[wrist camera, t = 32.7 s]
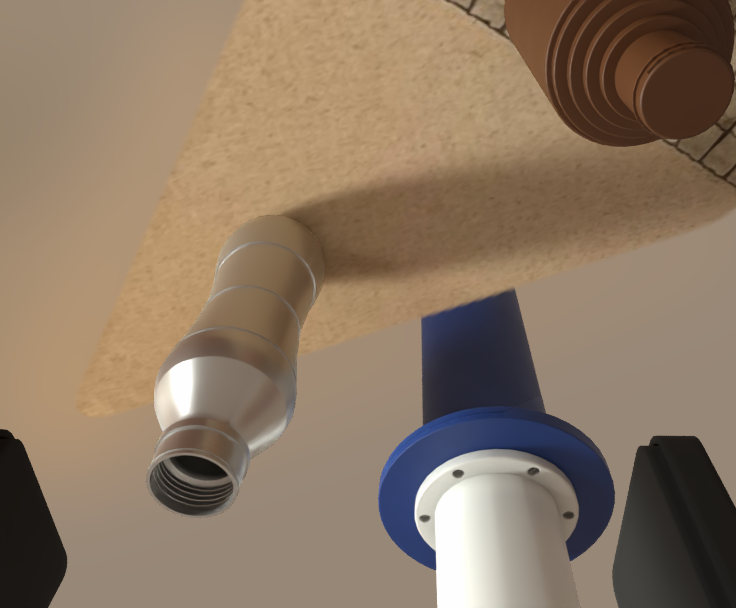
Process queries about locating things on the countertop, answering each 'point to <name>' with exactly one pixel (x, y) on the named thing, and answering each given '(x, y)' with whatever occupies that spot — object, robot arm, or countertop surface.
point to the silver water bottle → (234, 367)
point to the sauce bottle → (629, 64)
